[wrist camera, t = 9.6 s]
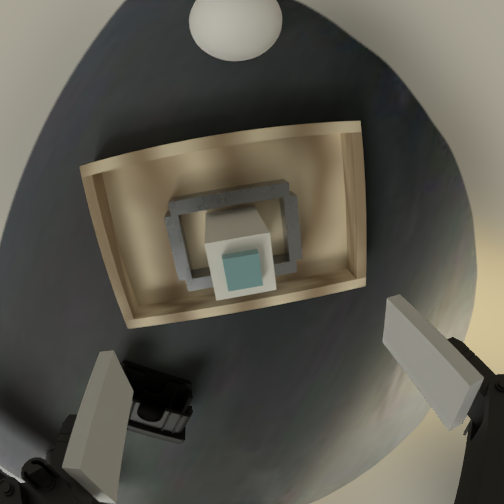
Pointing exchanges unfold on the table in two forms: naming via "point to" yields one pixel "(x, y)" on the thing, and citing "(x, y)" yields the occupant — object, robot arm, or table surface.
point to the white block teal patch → (239, 253)
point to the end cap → (158, 403)
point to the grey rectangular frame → (230, 197)
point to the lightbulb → (235, 27)
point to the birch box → (223, 176)
